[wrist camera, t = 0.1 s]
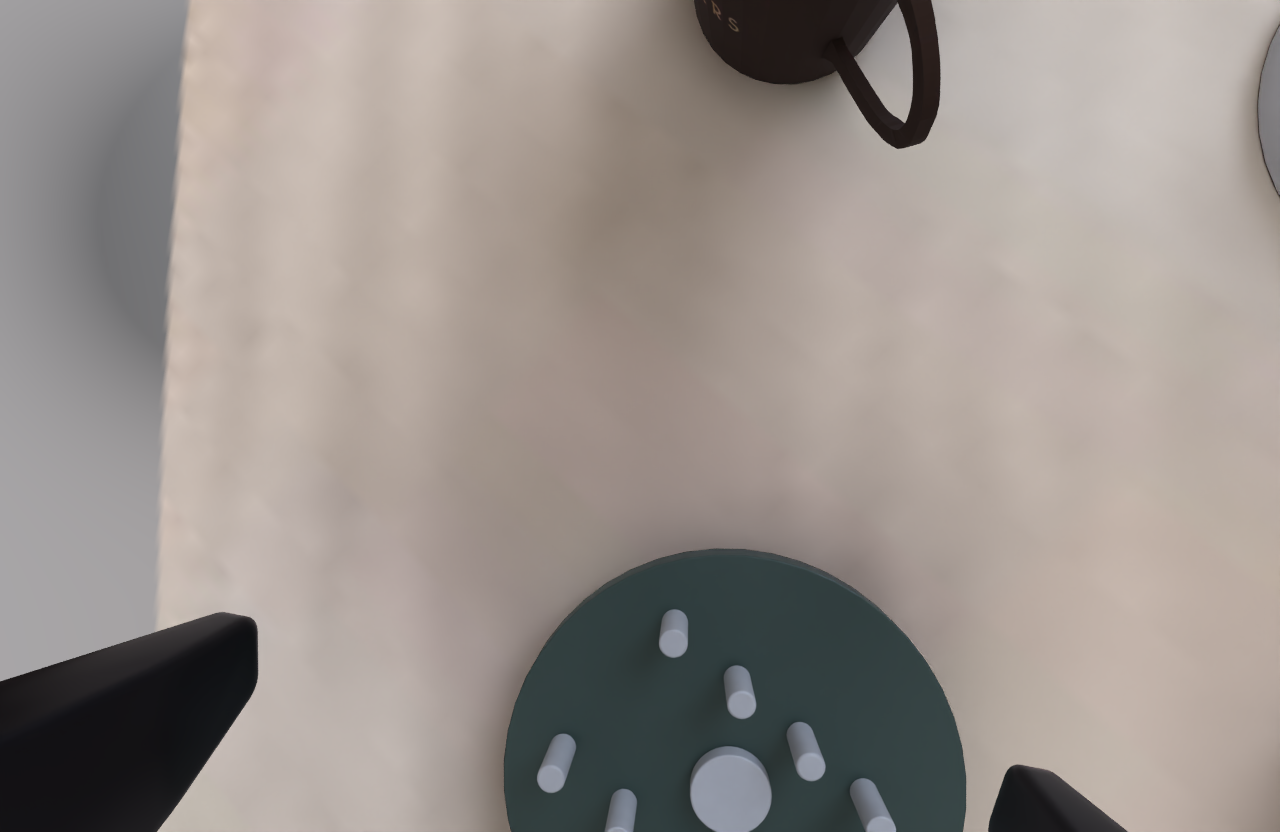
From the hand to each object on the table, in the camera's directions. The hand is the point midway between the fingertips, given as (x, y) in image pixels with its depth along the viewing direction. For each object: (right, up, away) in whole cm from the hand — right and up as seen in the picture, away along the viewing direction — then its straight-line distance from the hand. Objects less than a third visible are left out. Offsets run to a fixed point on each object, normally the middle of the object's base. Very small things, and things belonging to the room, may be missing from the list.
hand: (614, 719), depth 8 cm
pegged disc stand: (+3, -8, +14) cm, 16 cm away
